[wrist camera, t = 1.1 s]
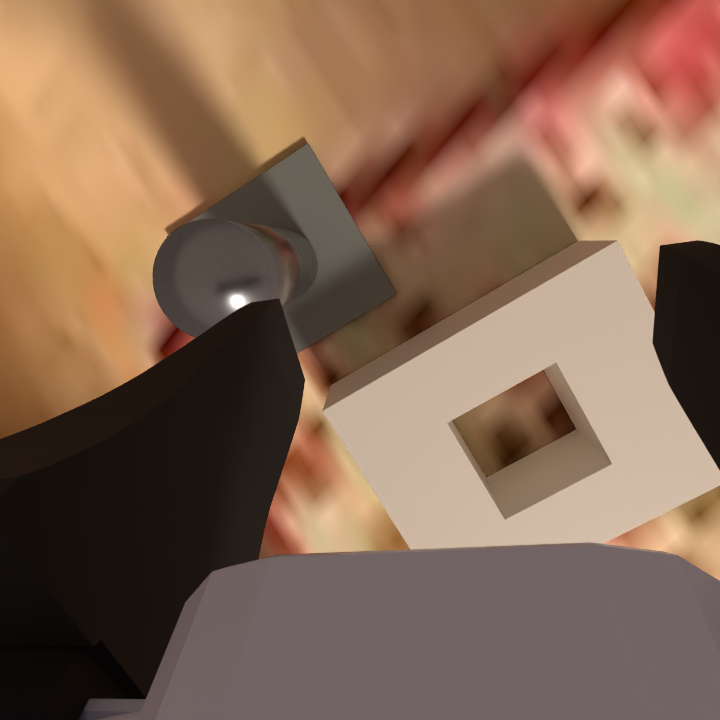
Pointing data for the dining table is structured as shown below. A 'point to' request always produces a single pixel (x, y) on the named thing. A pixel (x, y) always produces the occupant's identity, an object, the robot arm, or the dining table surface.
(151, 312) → the dining table surface
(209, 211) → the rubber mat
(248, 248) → the steel pin
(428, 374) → the block
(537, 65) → the dining table surface
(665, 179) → the dining table surface
